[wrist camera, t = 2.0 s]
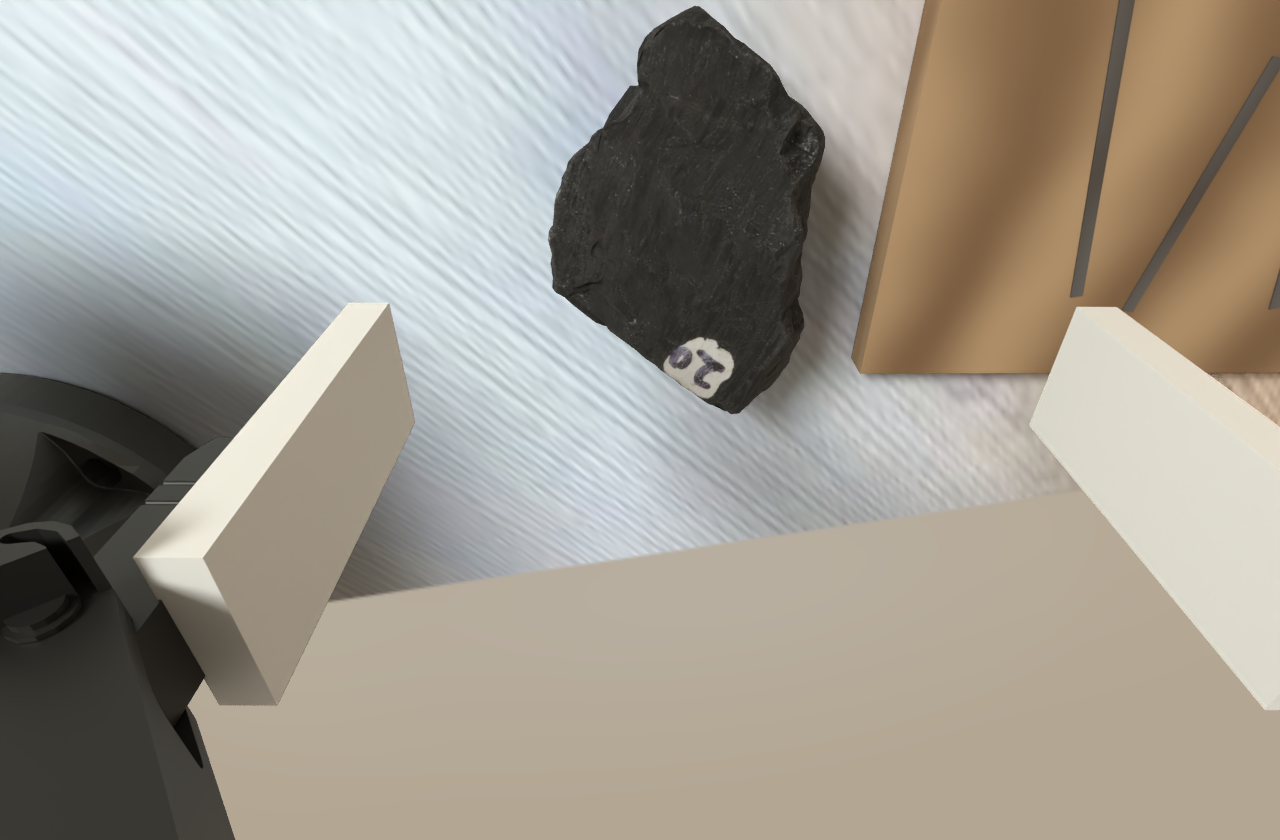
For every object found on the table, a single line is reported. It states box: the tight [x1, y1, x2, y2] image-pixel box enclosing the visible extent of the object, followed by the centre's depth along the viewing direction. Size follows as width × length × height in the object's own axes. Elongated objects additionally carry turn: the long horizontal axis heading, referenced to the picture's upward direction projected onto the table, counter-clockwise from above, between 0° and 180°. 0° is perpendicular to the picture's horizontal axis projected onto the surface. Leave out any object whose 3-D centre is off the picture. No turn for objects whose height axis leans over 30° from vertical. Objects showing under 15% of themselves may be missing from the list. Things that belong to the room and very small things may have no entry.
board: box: [851, 0, 1280, 373], centre depth 22 cm, size 18×14×1 cm
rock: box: [548, 6, 825, 414], centre depth 21 cm, size 9×10×6 cm
